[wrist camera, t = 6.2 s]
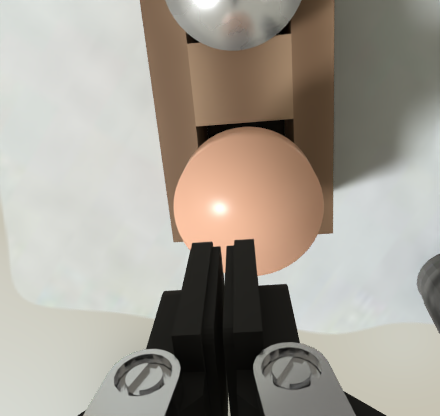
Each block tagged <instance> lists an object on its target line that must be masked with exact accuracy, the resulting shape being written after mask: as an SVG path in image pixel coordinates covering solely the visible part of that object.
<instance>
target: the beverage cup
mask: <svg viewBox="0 0 440 416" xmlns="http://www.w3.org/2000/svg"><path fill="white" fill-rule="evenodd" d="M417 286H418V290H419V292H420V294H421V295H422V298H423V300H424V304H425V306H426V308H427V310H428V312H429V314H430V316H431V318H432V320H433V322H434V324H435V326H436V327H437V330H438V331H439V333H440V254H439V255H437V256H435V257H433V258H432V259H430V260H429V261H428V262H427V263H426V264H425V265H424V266H423V267H422V269H421V270H420V272H419V274H418V279H417Z"/></svg>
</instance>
